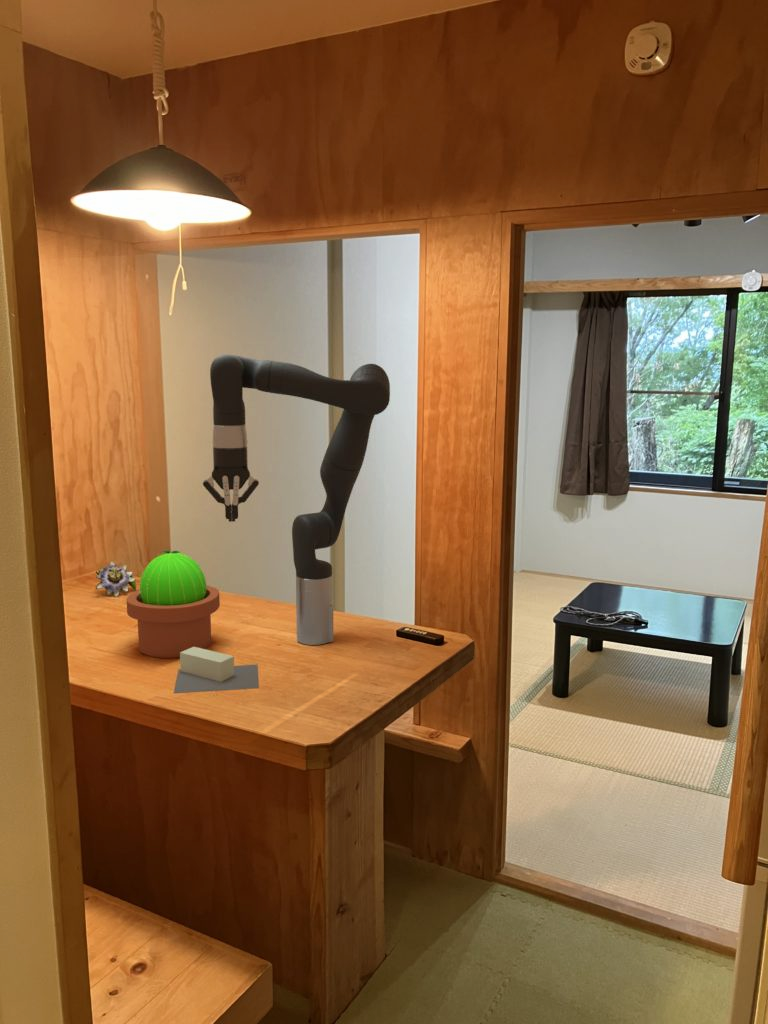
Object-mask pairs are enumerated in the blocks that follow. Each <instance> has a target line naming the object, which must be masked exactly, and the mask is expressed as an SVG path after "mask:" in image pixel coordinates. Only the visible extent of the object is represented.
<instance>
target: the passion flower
mask: <svg viewBox="0 0 768 1024" xmlns="http://www.w3.org/2000/svg"><path fill="white" fill-rule="evenodd" d="M126 569H127V564H124V565H121V566H118V565H117V564H115V563H114V561H110V562H109V564H108V565H107V566H106V567H104V568H98V570H95V574H96V576H95V578H96V579H99V580H100V582H99V583H97V585H96V586H95V589H96V590H100V589H103V588H104V589H105V593H106V595H107V596H109V595H113V596H114V598H117V597H118V596H119V594H120V591H121V590H122V591H123V592H127V593H128V591H129V587H128V585H129V586H130V587H131V588H132V590H133V591H134V590H135V591H137V583H136V580H137V579H136V578H135V577H134V576H133V571H127V570H126Z"/></svg>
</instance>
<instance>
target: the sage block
mask: <svg viewBox="0 0 768 1024" xmlns="http://www.w3.org/2000/svg"><path fill="white" fill-rule="evenodd" d="M179 662H180V663H179V664H180V667H179V669H181V671H182V672H185V673H189V674H193V675H197V676H201V677H204V678H208V679H212V680H216V681H220V682H222V681H224V680H226V679H228V678H230V677H232V676H234V666H235V656H234V655H230V654H226V653H221V652H219V651H218V652H217V651H214V650H210V649H206V648H204V649H202V648H197V647H192V648H189V649H187V650H185V651H182V652H180V658H179Z"/></svg>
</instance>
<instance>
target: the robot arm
mask: <svg viewBox="0 0 768 1024" xmlns="http://www.w3.org/2000/svg"><path fill="white" fill-rule="evenodd" d="M209 372H210V373H209V375H210V377H209V378H210V387H211V394H212V399H213V400H212V401H213V406H212V407H213V409H212V413H213V414H212V417H213V429H212V454H213V455H212V456H213V457H212V458H213V469H212V472H211V476H210V477H209V478H207V479H205V480H203V483H202V486H203V487H204V488H205V489H206V491H208V493H209V494H210V495H211V496H212V497H213V498H214V500H215V501H216V502H217V503H219V504H222V505H224V509H225V511H224V512H225V515H224V517H225V520H228V522H229V523H230V522H231V523H232V522H233V523H234V522H236V520H237V519H238V518H239V505H240V504H242V503H243V504H244V503H245V502H246V501H247V500H248V499H249V497H251V495H252V494H253V493H254V491H255V490H256V488H257V487H259V480H258V479H257V478H254V477H253V476H252V475H251V472H250V470H249V467H248V464H249V463H248V434H247V427H246V406H245V401H244V399H243V395H244V393H243V388H245V389H253V390H257V391H259V392H263V393H270V394H275V395H276V394H277V395H281V396H283V395H284V396H289V397H290V396H291V397H296V398H301V399H305V400H310V401H315V402H318V403H322V404H326V405H329V406H333V407H336V408H340V409H343V410H342V413H341V416H340V418H339V421H338V423H337V425H336V427H335V429H334V431H333V433H332V436H331V439H330V441H329V443H328V446H327V448H326V450H325V453H324V456H323V460H322V462H321V465H320V470H319V474H320V479H321V484H322V485H323V488H324V492H325V495H326V497H325V498H326V499H325V502H324V504H323V507H322V509H321V510H320V511H318V512H313V513H304V514H303V513H302V514H299V515H297V516H296V517H295V518H294V520H293V521H292V526H291V537H292V539H291V541H292V554H293V563H294V568H295V593H296V594H295V595H296V596H295V599H296V600H295V601H296V604H295V605H296V607H295V608H296V609H295V610H296V611H295V612H296V641H297V642H298V643H300V644H303V645H308V646H311V645H312V646H313V645H314V646H318V645H324V644H329V643H333V642H334V606H333V567H332V564H331V563H330V562H328V561H325V560H321V559H318V558H317V556H316V550H320V549H326V548H330V547H332V546H334V545H335V543H336V542H337V540H338V538H339V536H340V533H341V528H342V525H343V521H344V517H345V514H346V510H347V506H348V504H349V501H350V497H351V494H352V491H353V490H354V489H353V488H354V486H355V484H356V481H357V479H358V478H359V474H360V472H361V469H362V466H363V464H364V460H365V457H366V453H367V447H368V443H369V437H370V432H371V427H372V423H373V421H374V417H375V416H376V415H379V414H381V413H383V412H384V411H385V410H386V409H387V408H388V406H389V405H390V401H391V400H390V399H391V398H390V397H391V384H390V378H389V376H388V374H387V372H386V370H384V368H383V367H381V366H380V365H379V364H376V363H367V364H363V365H361V366H359V367H358V368H357V369H356V370H355V371H354V372H353V373H352V374H351V377H350V378H349V380H348V379H336V378H333V377H328V376H325V375H322V374H320V373H317V372H314V371H313V370H310V369H308V368H306V367H303V366H301V365H297V364H294V363H289V362H283V361H276V360H269V359H268V360H267V359H256V358H255V359H254V358H251V357H247V356H246V357H245V356H242V355H241V356H240V355H236V354H230V353H229V354H227V353H223V354H220V355H218V356H216V357H215V358H214V359H213V360H212V362H211V364H210V370H209ZM214 481H215V482H214ZM247 481H248V482H247ZM246 482H247V486H248V487H247V489H245V491H244V492H243V493H242V495H241V496H239V495H240V494H239V493H240V492H239V491H240V490H241V489H242V488H243V487H244V485H245V483H246ZM215 483H216V484H217V485H218V486H219V488H220V489H221V490H222V491H223V495H224V496H222V495H221V494H220V493H219V492H218V490H216V488H215V487H214V486H215ZM230 490H232V503H231V491H230Z"/></svg>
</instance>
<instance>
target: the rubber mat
mask: <svg viewBox="0 0 768 1024" xmlns="http://www.w3.org/2000/svg"><path fill="white" fill-rule="evenodd" d="M259 683H260V682H259V666H258V664H257V663H256V664H244V665H243V664H242V665H234V676H232V677H230V678H228V679H226V680H224V681H222V682H220V681H216V680H212V679H208V678H204V677H201V676H197V675H193V674H189V673H185V672H182V671H181V668H178V669H177V675H176V680H175V685H174V689H173V694H185V693H187V694H188V693H201V692H202V693H204V692H205V693H206V692H219V691H234V690H237V691H238V690H248V689H249V690H250V689H254V690H255V689H260V684H259Z"/></svg>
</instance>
